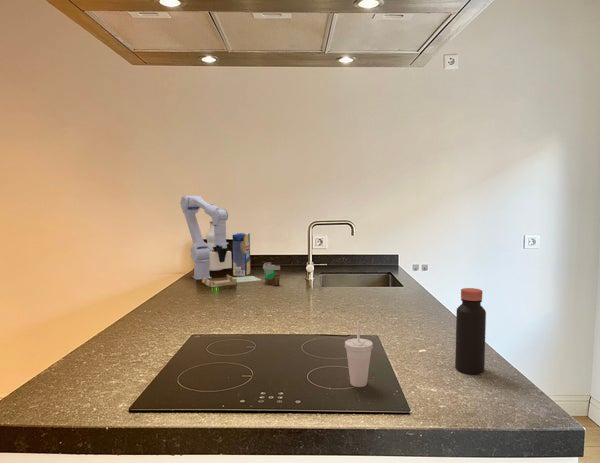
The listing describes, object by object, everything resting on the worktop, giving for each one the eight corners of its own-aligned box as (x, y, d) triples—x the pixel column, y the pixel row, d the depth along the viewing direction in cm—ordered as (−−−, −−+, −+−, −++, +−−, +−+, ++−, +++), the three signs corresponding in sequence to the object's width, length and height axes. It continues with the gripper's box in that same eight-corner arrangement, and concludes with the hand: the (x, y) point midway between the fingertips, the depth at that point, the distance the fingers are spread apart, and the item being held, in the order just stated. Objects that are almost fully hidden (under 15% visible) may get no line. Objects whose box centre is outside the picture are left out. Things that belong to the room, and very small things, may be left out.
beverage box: (250, 272, 253) (249, 233, 251) (245, 276, 242) (245, 235, 240) (238, 272, 254) (237, 233, 252) (233, 276, 243) (232, 235, 241)
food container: (259, 283, 224) (259, 262, 223) (270, 281, 226) (270, 262, 226) (268, 287, 213) (268, 266, 212) (280, 286, 215) (280, 265, 214)
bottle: (450, 369, 113) (451, 290, 111) (462, 362, 118) (464, 286, 116) (476, 377, 108) (479, 294, 107) (488, 369, 113) (491, 289, 111)
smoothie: (369, 377, 108) (370, 319, 107) (375, 389, 102) (375, 327, 101) (342, 378, 108) (343, 320, 107) (346, 389, 102) (346, 328, 101)
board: (229, 279, 235) (228, 278, 235) (252, 276, 241) (252, 275, 241) (237, 283, 223) (237, 282, 223) (262, 280, 229) (262, 279, 229)
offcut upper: (213, 284, 219) (212, 281, 218) (229, 282, 222) (229, 280, 222) (215, 285, 215) (215, 283, 215) (231, 284, 219) (231, 281, 218)
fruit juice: (220, 270, 260) (220, 221, 257) (204, 270, 260) (203, 221, 258) (225, 268, 269) (224, 220, 267) (209, 268, 270) (208, 220, 267)
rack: (201, 282, 225) (201, 276, 225) (227, 280, 231) (227, 274, 231) (209, 287, 213) (209, 281, 212) (236, 285, 219) (236, 279, 218)
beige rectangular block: (209, 268, 225) (209, 252, 224) (229, 266, 229) (228, 251, 229) (211, 269, 221) (211, 253, 221) (231, 267, 226) (231, 251, 225)
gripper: (232, 234, 219) (233, 262, 220) (223, 232, 232) (224, 259, 233) (218, 235, 216) (218, 263, 217) (209, 233, 229) (210, 260, 230)
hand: (220, 261), depth 225 cm, fingers closed on beige rectangular block, 4 cm apart
